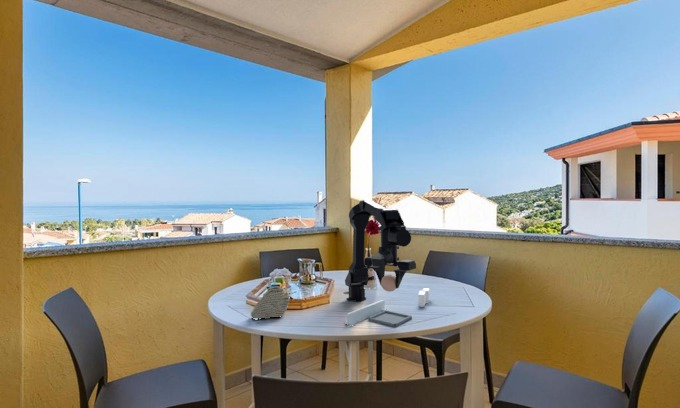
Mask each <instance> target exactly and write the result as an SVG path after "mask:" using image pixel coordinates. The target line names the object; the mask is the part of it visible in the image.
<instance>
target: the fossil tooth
mask: <svg viewBox="0 0 680 408" xmlns="http://www.w3.org/2000/svg"><path fill="white" fill-rule="evenodd" d="M290 297H291V296H290V295H289V294H288V293H285V291H284V288H283V287H282V288H281V286H280V285H279V286H277V285H276V286H270V287H269V288H267V291H266V292H265V294H263V295H262V297H261V298H260V299H259V300H258V301H257V303H256V305H255V306H254V307H253V309H252V311H250V317H251V316H252V317H253V318H265V319H271V318H270V317H280V316H282V317H283V316H284V314H285V313H286V312H287V310H288V307H289V304H290V300H291V298H290Z"/></svg>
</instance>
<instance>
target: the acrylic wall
mask: <svg viewBox="0 0 680 408" xmlns="http://www.w3.org/2000/svg"><path fill="white" fill-rule="evenodd" d="M385 305H386V303H385V299H381V300H378V301H376V302H373V303H371V304H367V305H366V306H363V307H360V308H358V309H355V310H352V311H350V312H347V313H346V315H347V316H346V320H347V321H346V322H344V325H345V324H347V325H346V326H348V325H351V326H350V327H353V326H352V325H354V326H355V325H356V324H357V323H359V322H361V321H364V320H366V319H368V318H369V317H371V316H373V315H376V314H378V313H380V312H383V311H385V310H387V309H386V307H385ZM387 311H388V310H387Z"/></svg>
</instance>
